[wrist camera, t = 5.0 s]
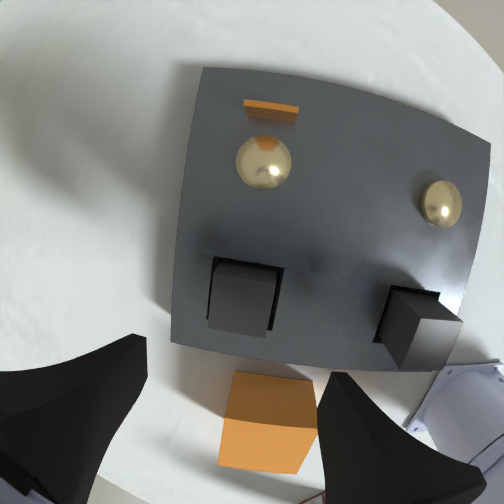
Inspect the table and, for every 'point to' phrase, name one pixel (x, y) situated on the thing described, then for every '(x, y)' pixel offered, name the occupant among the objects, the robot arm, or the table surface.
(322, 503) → the snack box
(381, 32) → the table surface
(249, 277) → the dark grey block
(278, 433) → the cap
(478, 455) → the robot arm
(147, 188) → the table surface
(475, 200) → the grey flat slab
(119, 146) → the table surface
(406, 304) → the block
